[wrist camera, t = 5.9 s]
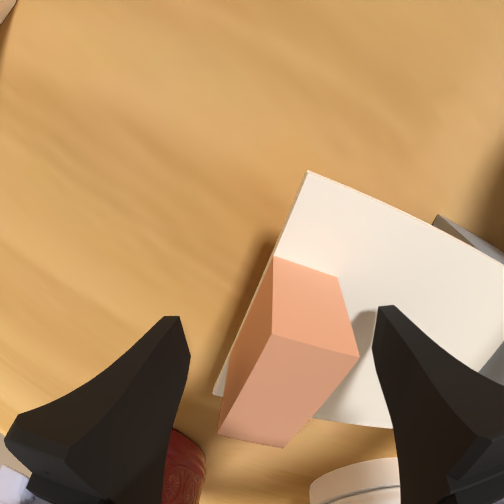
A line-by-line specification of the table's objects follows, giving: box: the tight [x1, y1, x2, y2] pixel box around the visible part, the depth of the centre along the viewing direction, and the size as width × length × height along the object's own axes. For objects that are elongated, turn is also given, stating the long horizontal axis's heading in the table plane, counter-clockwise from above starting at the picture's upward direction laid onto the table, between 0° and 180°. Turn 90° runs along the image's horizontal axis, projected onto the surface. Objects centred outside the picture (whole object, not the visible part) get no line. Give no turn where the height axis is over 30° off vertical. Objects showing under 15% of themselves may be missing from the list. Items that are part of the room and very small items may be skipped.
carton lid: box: [212, 170, 504, 448], centre depth 11 cm, size 13×11×4 cm
